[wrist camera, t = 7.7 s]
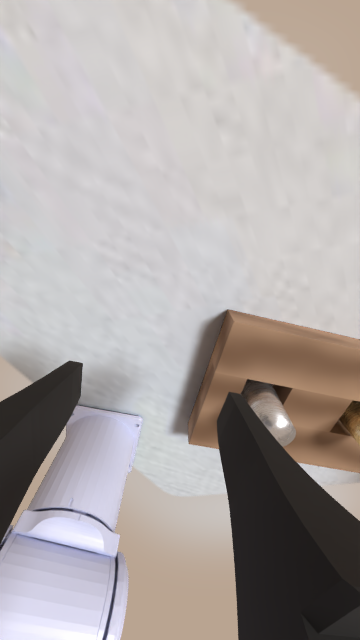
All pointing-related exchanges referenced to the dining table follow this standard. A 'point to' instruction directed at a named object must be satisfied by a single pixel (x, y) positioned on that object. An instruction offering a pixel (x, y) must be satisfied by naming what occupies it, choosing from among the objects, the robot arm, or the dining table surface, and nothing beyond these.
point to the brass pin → (352, 420)
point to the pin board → (285, 385)
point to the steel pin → (269, 410)
